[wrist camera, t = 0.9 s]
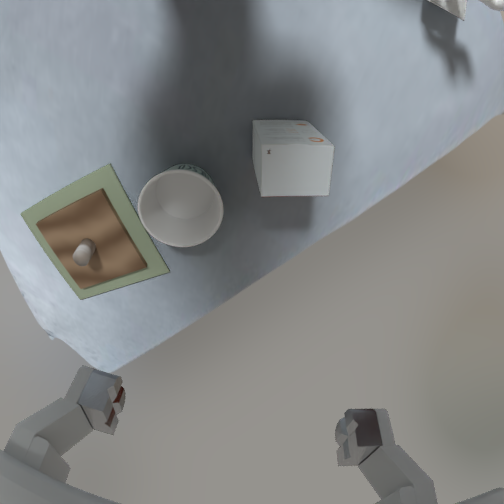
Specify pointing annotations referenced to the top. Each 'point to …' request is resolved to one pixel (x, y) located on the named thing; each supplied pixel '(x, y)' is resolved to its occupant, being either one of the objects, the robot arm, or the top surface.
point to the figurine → (456, 5)
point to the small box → (291, 158)
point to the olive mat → (127, 214)
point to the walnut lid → (91, 240)
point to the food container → (181, 206)
